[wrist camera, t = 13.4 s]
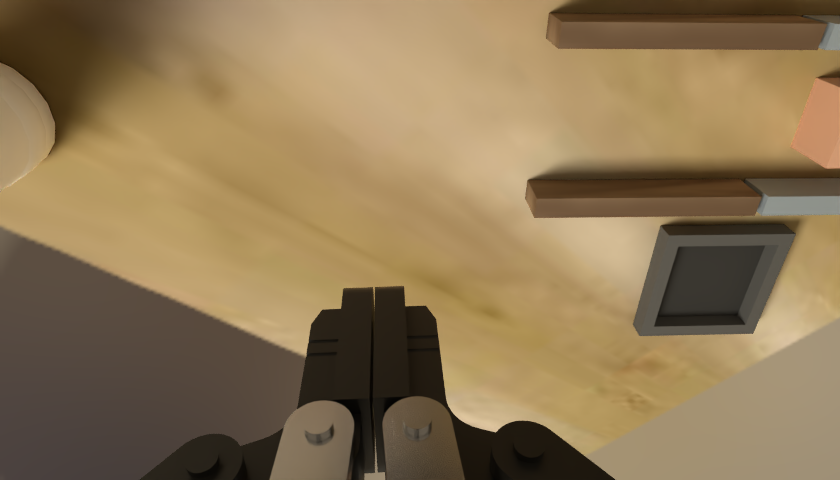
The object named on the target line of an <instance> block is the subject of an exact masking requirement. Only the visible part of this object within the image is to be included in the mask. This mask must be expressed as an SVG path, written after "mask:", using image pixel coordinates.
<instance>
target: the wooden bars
mask: <svg viewBox="0 0 840 480" xmlns="http://www.w3.org/2000/svg"><path fill="white" fill-rule="evenodd" d="M826 26H827V24H826V23H822V22H819V21H815V20H812V19H808V18H804V17H801V16H797V15H724V14H606V13H549V18H548V26H547V34H546V39H548V40H549V41H550V42H551V43H552V44H554V45H555V46H556V47H557V48H558V49H739V50H818V47H819V44H820V42H821V39H822V37H823V34H824V31H825V29H826ZM761 198H762V197H761V196H760V195H759V194H758V193H756V192H755V191H754V190H753V189H751V188H750V187H749V186H747V185H746V184H745V183H744V182H742V181H741V180H740V179H619V180H528V181H527V189H526V197H525V199H526V201H527V203H528V205H529V207H530V210H531V212H532V214H533V216H534V218H567V217H663V216H755V214H756V211H757V208H758V206H759V203H760V201H761Z"/></svg>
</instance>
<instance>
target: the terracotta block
mask: <svg viewBox="0 0 840 480" xmlns="http://www.w3.org/2000/svg"><path fill="white" fill-rule="evenodd" d="M790 147H791V148H793V149H795V150H796V151H798V152H800V153H801V154H803V155H805V156H806V157H808V158H810V159H811V160H813V161H815V162H816V163H818V164H820V165H821V166H823V167H824V168H840V77H838V78H816V79H815V82H814V85H813V87H812V90H811V93H810V95H809V98H808V101H807V103H806V106H805V109H804V111H803V114H802V117H801V120H800V122H799V125H798V128H797V130H796V133H795V136H794V138H793V141H792V144H791V146H790Z"/></svg>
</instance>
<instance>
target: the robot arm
mask: <svg viewBox="0 0 840 480" xmlns="http://www.w3.org/2000/svg"><path fill="white" fill-rule="evenodd" d="M375 437H376V452H377V466H378V472H385V480H615V479H614V478H613V477H611V476H610V475H608V474H607V473H606V472H605V471H603V470H602V469H601V468H599V467H598V466H597V465H596V464H594V463H593V462H592V461H590V460H589V459H588V458H586V457H585V456H584V455H583V454H581V453H580V452H579V451H577V450H576V449H575V448H573V447H572V446H571V445H569V444H568V443H567V442H565V441H564V440H563V439H562V438H560V437H559V436H558V435H556V434H555V433H554V432H552V431H551V430H550V429H548V428H547V427H545V426H543V425H541V424H538V423H535V422H530V421H515V422H511V423H508V424H506V425H504V426H503V427H501V428H500V429H499V430H498V431H497V432H496V433H495V432H491V431H487V430H483V429H479V428H475V427H472V426H470V425H468V424H466V423H464V422H462V421H461V420H459V419H458V418H457V417H456V416H455V415H454V414H453V413H452V411H451V410H450V408H449V407H448V404H447V401H446V396H445V388H444V380H443V372H442V363H441V355H440V347H439V339H438V331H437V323H436V319H435V317H434V316H433V315H432V313H431V312H430V311H429V309H428V308H427V307H426V306H406V307H405V295H404V286H393V287H375V311H374V294H373V287H368V288H344V289H343V296H342V306H341V309H328V310H322V311H321V312H320V314H319V315H318V316H317V317H316V319H315V320H314V321H313V323H312V324H311V330H310V336H309V343H308V348H307V357H306V360H305V367H304V372H303V378H302V384H301V390H300V396H299V403H298V407H297V410H296V411H295V412H294V413H292V415H291V416H290V417H289V418H288V420H287V422H286V424H285V426H284V428H282V429H281V430H280V431H278V432H277V433H275V434H273V435H271V436H269V437H267V438H264V439H261V440H258V441H255V442H252V443H249V444H246V445H243V446H240V445H239V444H238V442H237V441H235V440H234V439H233V438H231V437H229V436H226V435H222V434H209V435H204V436H200V437H197V438H195V439H192V440H191V441H189V442H187V443H185V444H184V445H183V446H181V447H180V448H179V449H177V450H176V451H175V452H174V453H172V454H171V455H170V456H169V457H167V458H166V459H165V460H164V461H163V462H161V463H160V464H159V465H157V466H156V467H155V468H154V469H152V470H151V471H150V472H149V473H147V474H146V475H145V476H144V477H143V478H141V479H140V480H364V473H375Z"/></svg>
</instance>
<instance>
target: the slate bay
mask: <svg viewBox="0 0 840 480" xmlns="http://www.w3.org/2000/svg"><path fill="white" fill-rule="evenodd" d="M803 17H804V18H808V19H812V20H815V21H819V22H822V23H826V24H827V26H826V29H825V31H824V34H823V37H822V39H821V42H820V44H819V47H818V48H821V49H824V50H840V15H803ZM744 183H745V184H746V185H747V186H749V187H750V188H751V189H753V190H754V191H755V192H756V193H758V194H759V195H760V196H761V197H762V198H761V201H760V203H759V206H758V208H757V212H758V213H759V214H760V215H840V178H762V179H745V181H744Z"/></svg>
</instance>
